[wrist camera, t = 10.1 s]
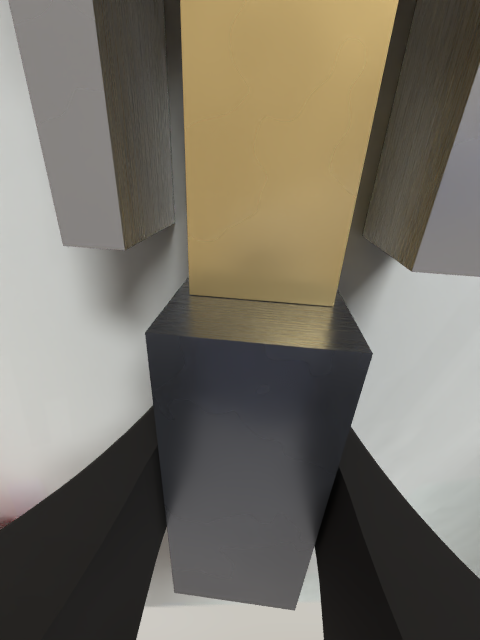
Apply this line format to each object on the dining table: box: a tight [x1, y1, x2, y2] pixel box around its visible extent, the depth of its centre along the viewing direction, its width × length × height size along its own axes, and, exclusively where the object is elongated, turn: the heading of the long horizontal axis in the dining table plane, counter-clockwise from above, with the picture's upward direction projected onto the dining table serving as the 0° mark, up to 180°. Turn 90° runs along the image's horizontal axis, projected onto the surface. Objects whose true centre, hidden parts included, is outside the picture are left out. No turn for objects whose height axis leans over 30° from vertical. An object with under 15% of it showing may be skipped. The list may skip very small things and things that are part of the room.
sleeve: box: [9, 0, 480, 277], centre depth 5 cm, size 8×7×3 cm
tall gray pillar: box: [145, 277, 373, 610], centre depth 9 cm, size 4×11×4 cm, turn 177°
